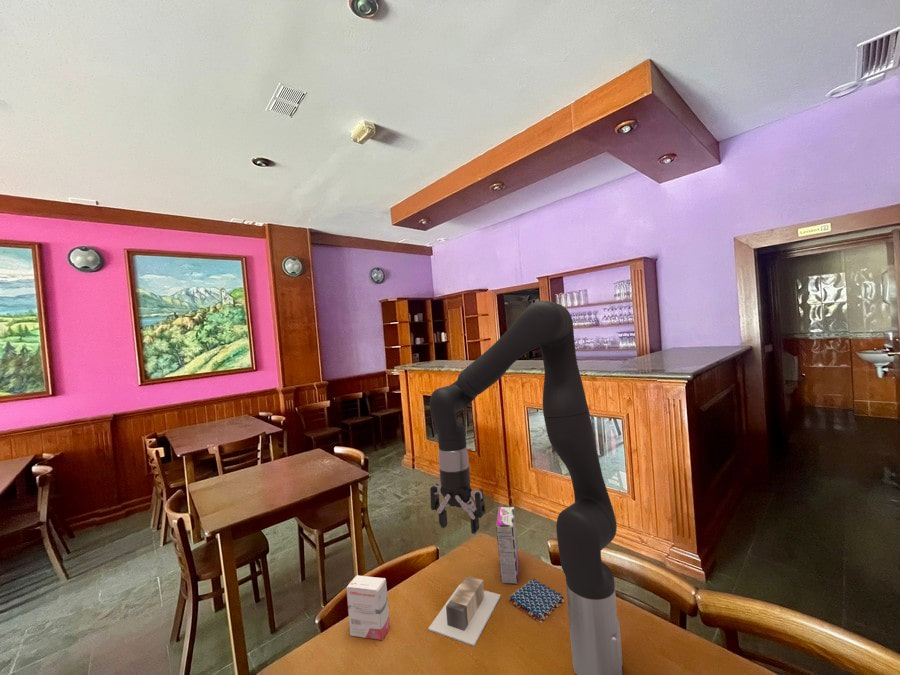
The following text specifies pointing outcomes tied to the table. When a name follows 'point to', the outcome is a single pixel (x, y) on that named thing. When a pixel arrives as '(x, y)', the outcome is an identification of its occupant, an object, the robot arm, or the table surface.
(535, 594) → the woven mat
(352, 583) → the ink box
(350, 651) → the table surface
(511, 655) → the table surface
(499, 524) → the candy bar box
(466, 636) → the white rectangular board
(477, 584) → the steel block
